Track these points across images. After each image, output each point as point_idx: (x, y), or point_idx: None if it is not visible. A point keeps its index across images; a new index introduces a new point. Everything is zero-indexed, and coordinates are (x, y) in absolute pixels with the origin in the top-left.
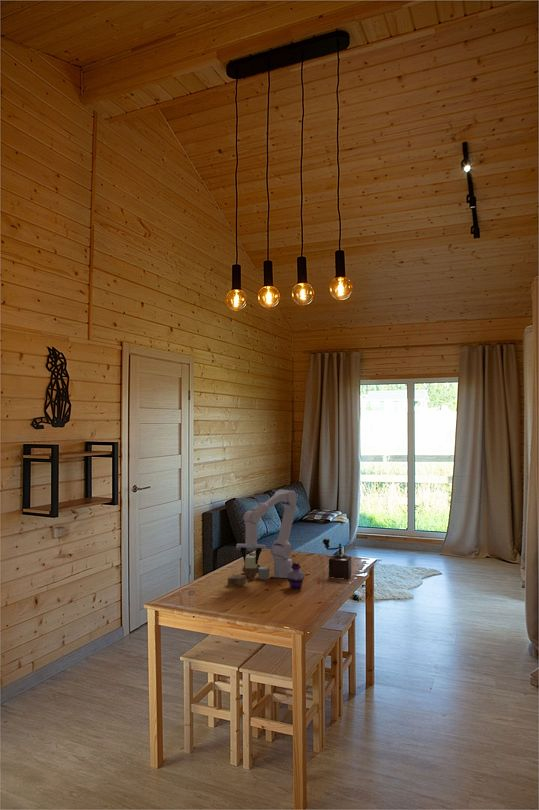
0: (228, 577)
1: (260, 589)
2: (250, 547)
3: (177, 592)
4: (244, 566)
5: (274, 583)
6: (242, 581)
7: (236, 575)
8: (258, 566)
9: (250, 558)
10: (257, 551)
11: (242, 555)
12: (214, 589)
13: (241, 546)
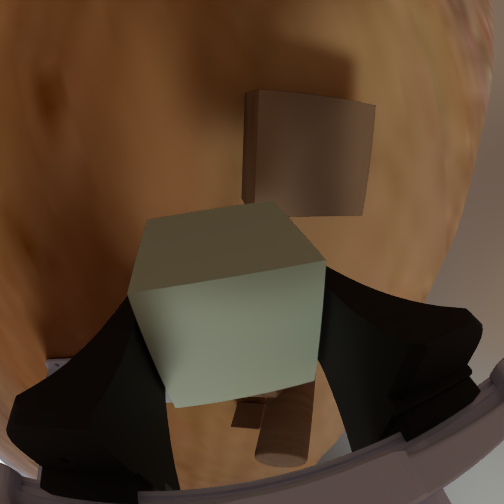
0: (373, 120)
1: (88, 82)
2: (265, 492)
3: (487, 9)
4: (309, 386)
5: (57, 254)
6: (251, 117)
7: (329, 191)
8: (243, 422)
9: (219, 272)
10: (50, 404)
11: (385, 293)
12: (391, 27)
13: (472, 420)
